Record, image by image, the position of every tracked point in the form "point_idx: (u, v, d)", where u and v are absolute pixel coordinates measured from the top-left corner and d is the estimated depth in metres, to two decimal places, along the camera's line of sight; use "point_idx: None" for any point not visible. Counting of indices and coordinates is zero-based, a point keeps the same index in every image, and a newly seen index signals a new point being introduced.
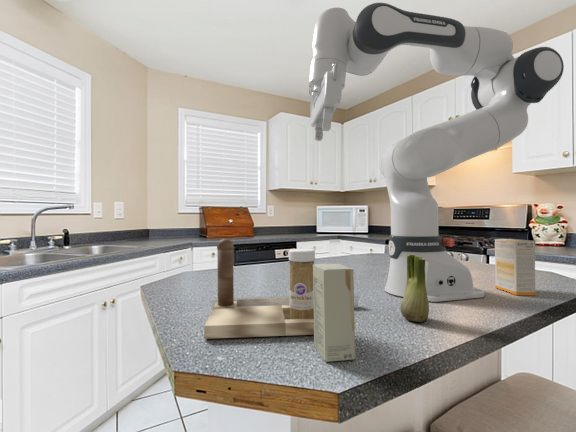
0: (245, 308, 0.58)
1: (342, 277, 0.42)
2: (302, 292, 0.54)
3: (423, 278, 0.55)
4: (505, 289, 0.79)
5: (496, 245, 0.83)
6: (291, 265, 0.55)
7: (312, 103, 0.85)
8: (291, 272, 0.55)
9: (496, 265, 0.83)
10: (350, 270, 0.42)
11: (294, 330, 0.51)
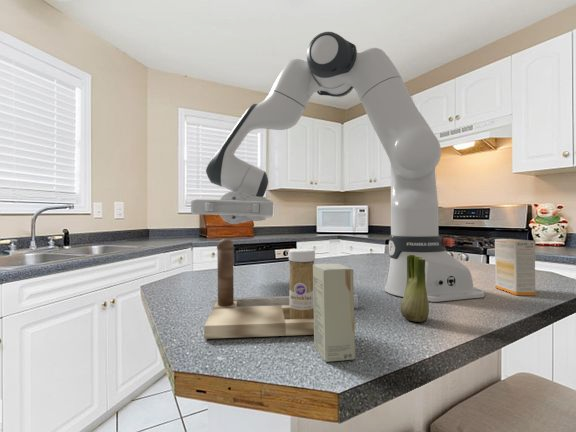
0: (245, 308, 0.58)
1: (341, 277, 0.42)
2: (302, 292, 0.54)
3: (423, 278, 0.55)
4: (505, 289, 0.79)
5: (496, 245, 0.83)
6: (291, 265, 0.55)
7: (262, 216, 0.84)
8: (291, 272, 0.55)
9: (496, 265, 0.83)
10: (350, 270, 0.42)
11: (294, 330, 0.51)
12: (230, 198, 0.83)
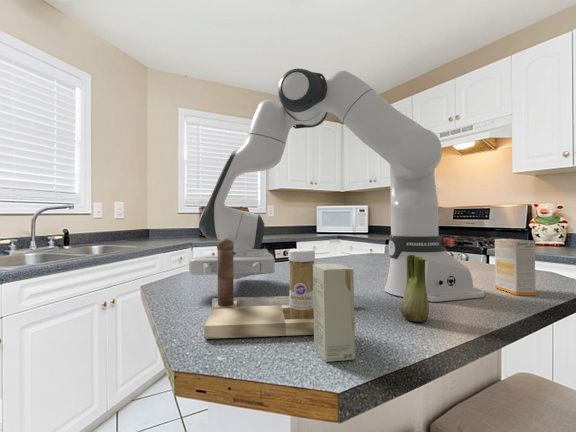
0: (245, 308, 0.58)
1: (342, 277, 0.42)
2: (302, 292, 0.54)
3: (423, 278, 0.55)
4: (505, 289, 0.79)
5: (496, 245, 0.83)
6: (291, 265, 0.55)
7: None
8: (291, 272, 0.55)
9: (496, 265, 0.83)
10: (350, 270, 0.42)
11: (294, 330, 0.51)
12: None
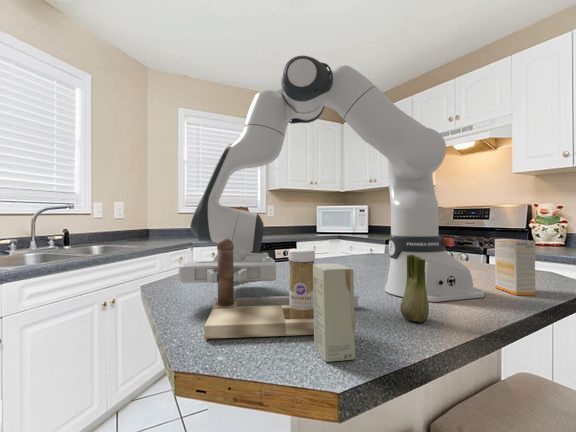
0: (245, 308, 0.58)
1: (341, 277, 0.42)
2: (302, 292, 0.54)
3: (423, 278, 0.55)
4: (505, 289, 0.79)
5: (496, 245, 0.83)
6: (291, 265, 0.55)
7: None
8: (291, 272, 0.55)
9: (496, 265, 0.83)
10: (350, 270, 0.42)
11: (294, 330, 0.51)
12: None
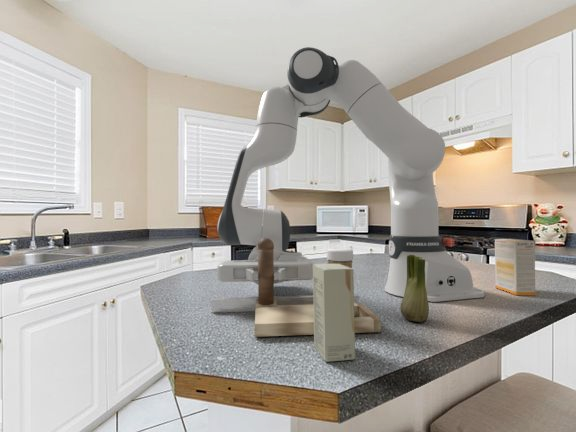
0: (287, 307, 0.59)
1: (342, 277, 0.42)
2: None
3: (423, 278, 0.55)
4: (505, 289, 0.79)
5: (496, 245, 0.83)
6: None
7: None
8: None
9: (496, 265, 0.83)
10: (350, 270, 0.42)
11: None
12: None
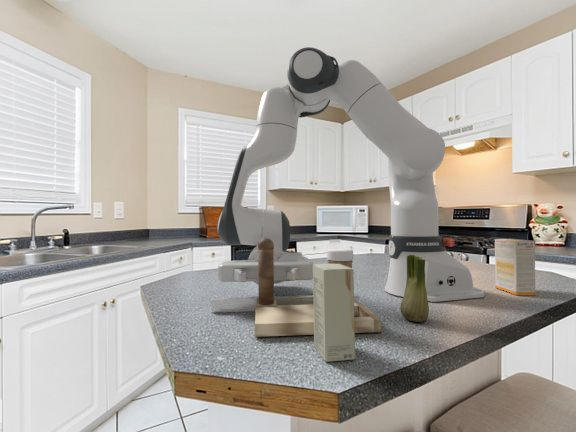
0: (287, 307, 0.59)
1: (342, 277, 0.42)
2: None
3: (423, 278, 0.55)
4: (505, 289, 0.79)
5: (496, 245, 0.83)
6: None
7: None
8: None
9: (496, 265, 0.83)
10: (350, 270, 0.42)
11: None
12: None
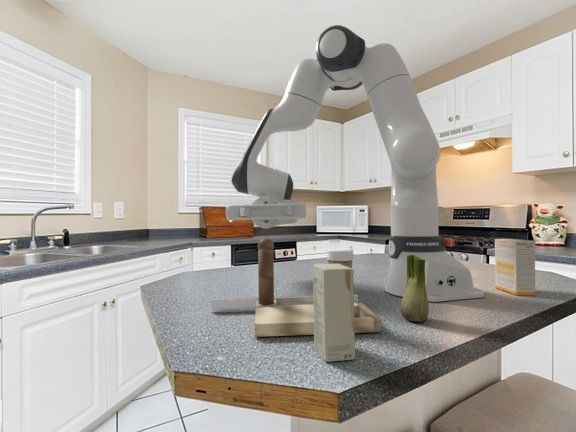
0: (287, 307, 0.59)
1: (341, 277, 0.42)
2: None
3: (423, 278, 0.55)
4: (505, 289, 0.79)
5: (496, 245, 0.83)
6: None
7: (294, 218, 0.85)
8: None
9: (496, 265, 0.83)
10: (350, 270, 0.42)
11: None
12: (262, 203, 0.84)
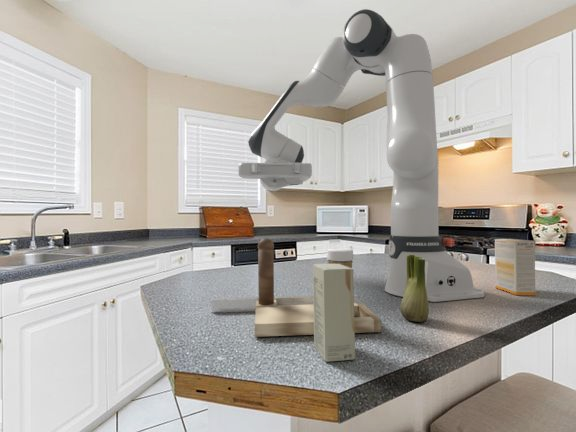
0: (287, 307, 0.59)
1: (342, 277, 0.42)
2: None
3: (423, 278, 0.55)
4: (505, 289, 0.79)
5: (496, 245, 0.83)
6: None
7: (300, 179, 0.92)
8: None
9: (496, 265, 0.83)
10: (350, 270, 0.42)
11: None
12: None
